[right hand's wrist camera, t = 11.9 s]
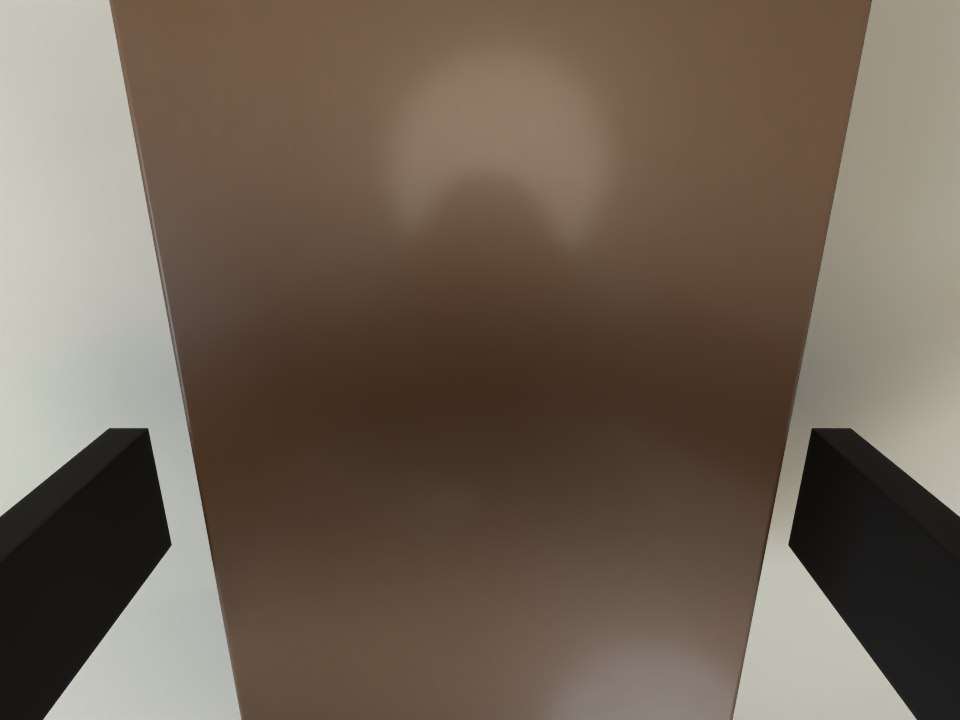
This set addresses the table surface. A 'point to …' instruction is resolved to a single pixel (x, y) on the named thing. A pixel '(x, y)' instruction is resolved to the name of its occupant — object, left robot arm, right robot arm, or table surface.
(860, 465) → the right robot arm
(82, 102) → the table surface
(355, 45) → the slab
